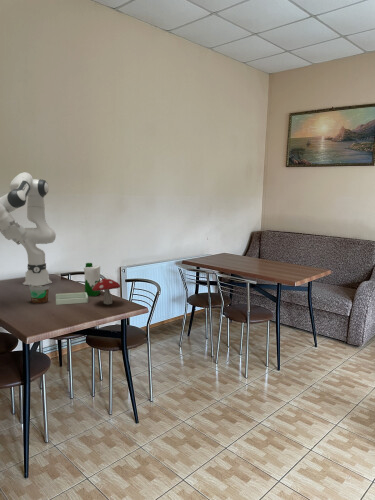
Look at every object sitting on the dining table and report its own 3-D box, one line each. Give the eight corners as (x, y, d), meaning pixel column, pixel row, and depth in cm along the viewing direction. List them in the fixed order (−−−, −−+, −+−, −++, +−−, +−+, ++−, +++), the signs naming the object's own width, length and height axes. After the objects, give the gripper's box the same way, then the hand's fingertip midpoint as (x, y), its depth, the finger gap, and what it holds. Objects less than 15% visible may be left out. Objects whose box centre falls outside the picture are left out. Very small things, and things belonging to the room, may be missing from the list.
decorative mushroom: (88, 307, 216) (88, 281, 214) (97, 299, 232) (96, 275, 230) (116, 308, 215) (116, 282, 213) (123, 300, 231) (123, 276, 229)
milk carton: (89, 292, 247) (88, 261, 244) (102, 293, 246) (101, 262, 243) (82, 295, 239) (82, 264, 236) (96, 297, 237) (95, 265, 234)
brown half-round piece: (24, 303, 220) (24, 286, 219) (30, 300, 226) (30, 283, 225) (45, 304, 219) (44, 287, 217) (50, 301, 225) (49, 285, 223)
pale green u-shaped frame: (55, 298, 231) (55, 294, 231) (86, 296, 237) (86, 292, 237) (55, 304, 219) (55, 299, 219) (88, 302, 225) (88, 297, 225)
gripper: (19, 216, 208) (35, 237, 213) (4, 222, 222) (19, 241, 227) (10, 223, 204) (26, 244, 209) (-5, 229, 218) (11, 248, 223)
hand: (23, 243), depth 218 cm, fingers open, 8 cm apart
